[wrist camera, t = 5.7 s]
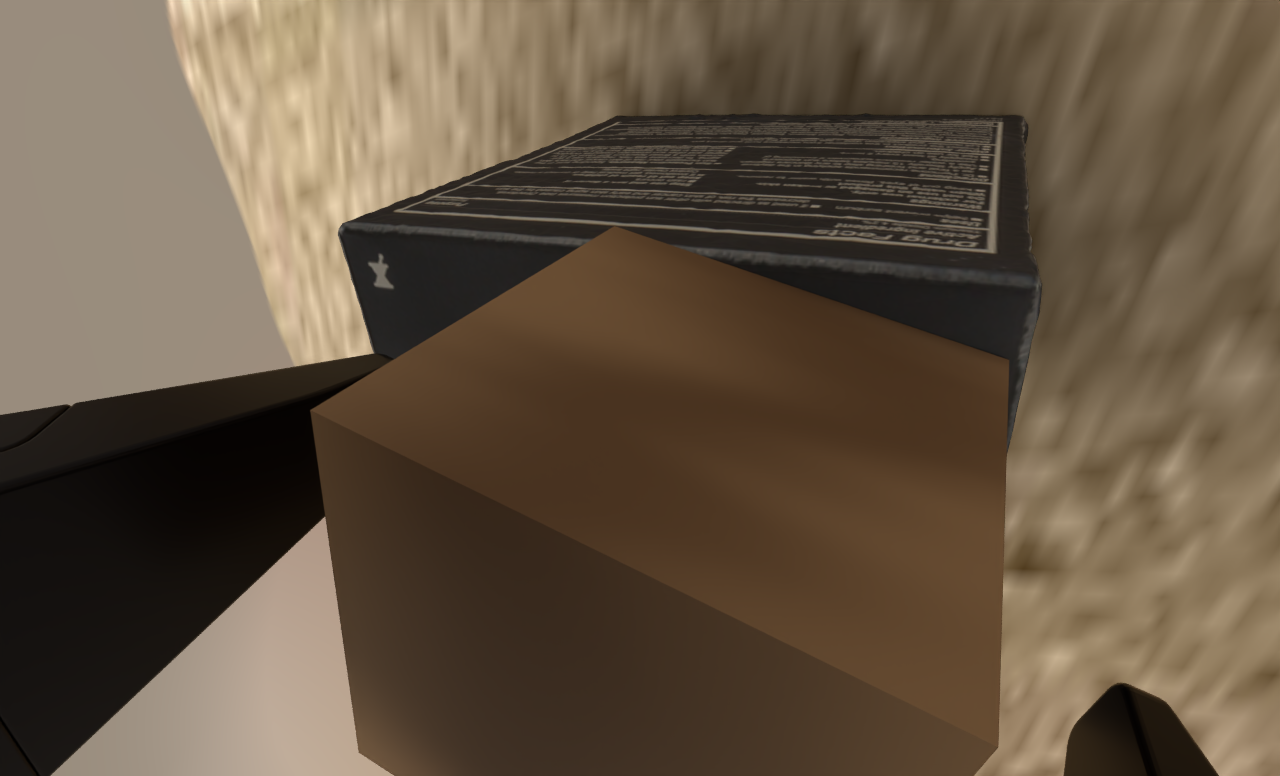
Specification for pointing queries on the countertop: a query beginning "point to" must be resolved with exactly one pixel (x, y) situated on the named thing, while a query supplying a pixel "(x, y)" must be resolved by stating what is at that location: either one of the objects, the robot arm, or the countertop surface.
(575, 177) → the small box
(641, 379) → the block
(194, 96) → the countertop surface
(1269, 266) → the countertop surface
